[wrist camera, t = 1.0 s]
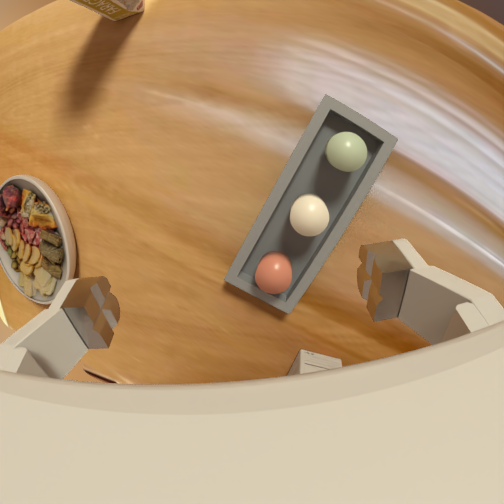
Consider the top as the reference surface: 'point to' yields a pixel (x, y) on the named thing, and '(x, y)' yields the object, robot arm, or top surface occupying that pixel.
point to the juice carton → (113, 7)
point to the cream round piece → (309, 215)
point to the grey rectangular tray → (321, 184)
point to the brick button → (274, 272)
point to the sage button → (346, 151)
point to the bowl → (35, 238)
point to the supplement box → (313, 363)
